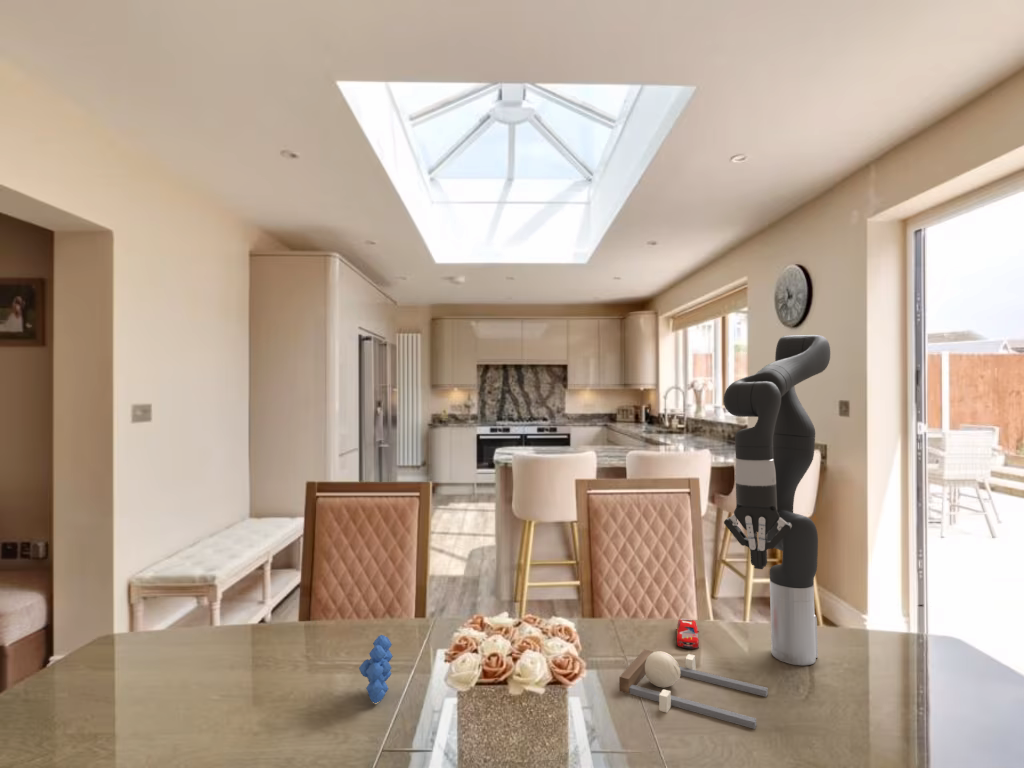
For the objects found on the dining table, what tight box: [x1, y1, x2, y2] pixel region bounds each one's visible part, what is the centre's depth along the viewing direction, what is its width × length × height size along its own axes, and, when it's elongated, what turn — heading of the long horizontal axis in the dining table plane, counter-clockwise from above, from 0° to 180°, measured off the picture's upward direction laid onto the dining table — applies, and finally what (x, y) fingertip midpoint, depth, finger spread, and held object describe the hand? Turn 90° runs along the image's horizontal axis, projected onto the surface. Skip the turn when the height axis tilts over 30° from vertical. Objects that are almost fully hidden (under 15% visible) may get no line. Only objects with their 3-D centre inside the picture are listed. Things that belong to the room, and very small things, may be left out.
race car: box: [675, 618, 700, 650], centre depth 142 cm, size 13×5×4 cm, turn 162°
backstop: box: [619, 648, 653, 695], centre depth 123 cm, size 2×15×3 cm, turn 147°
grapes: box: [358, 634, 394, 704], centre depth 116 cm, size 12×7×12 cm, turn 179°
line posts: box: [658, 653, 697, 714], centre depth 118 cm, size 2×20×3 cm, turn 147°
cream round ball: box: [645, 650, 681, 689], centre depth 120 cm, size 7×7×7 cm
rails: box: [628, 665, 769, 730], centre depth 116 cm, size 24×14×1 cm, turn 57°
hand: (759, 567), depth 114 cm, fingers closed
